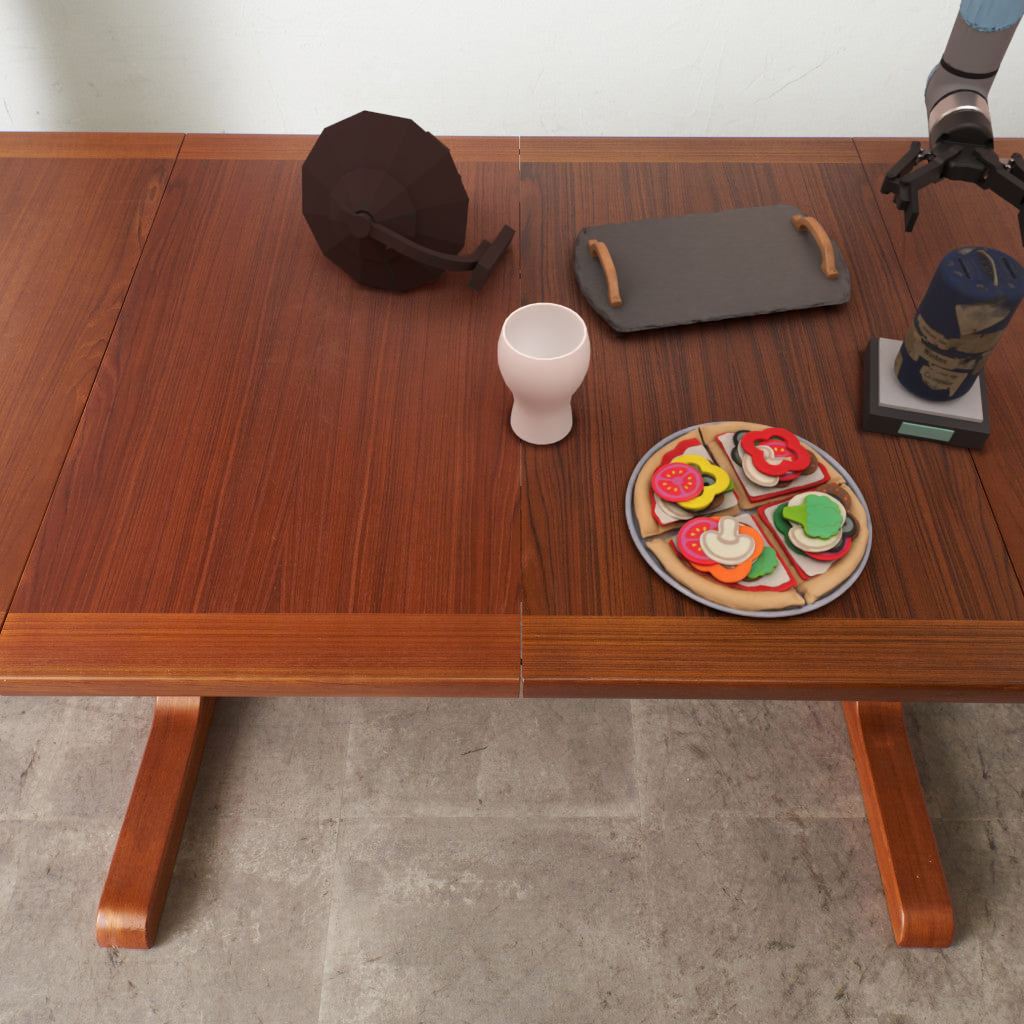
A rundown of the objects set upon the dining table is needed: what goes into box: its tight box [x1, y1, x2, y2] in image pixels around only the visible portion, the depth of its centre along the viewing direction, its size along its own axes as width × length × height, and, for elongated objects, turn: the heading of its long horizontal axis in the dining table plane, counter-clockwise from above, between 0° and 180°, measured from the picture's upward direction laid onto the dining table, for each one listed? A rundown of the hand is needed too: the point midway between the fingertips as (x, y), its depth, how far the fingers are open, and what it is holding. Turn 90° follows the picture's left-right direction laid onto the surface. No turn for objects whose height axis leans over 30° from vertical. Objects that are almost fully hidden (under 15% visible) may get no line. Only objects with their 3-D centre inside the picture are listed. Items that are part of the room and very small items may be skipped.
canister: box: [894, 245, 1024, 401], centre depth 104 cm, size 10×10×18 cm
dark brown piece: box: [301, 109, 517, 294], centre depth 126 cm, size 24×29×30 cm
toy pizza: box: [624, 420, 873, 619], centre depth 101 cm, size 28×28×4 cm
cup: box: [497, 302, 591, 445], centre depth 106 cm, size 11×11×15 cm
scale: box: [862, 337, 991, 451], centre depth 113 cm, size 14×14×4 cm
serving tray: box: [572, 203, 852, 339], centre depth 126 cm, size 39×23×6 cm, turn 101°
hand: (971, 230), depth 107 cm, fingers open, 13 cm apart
